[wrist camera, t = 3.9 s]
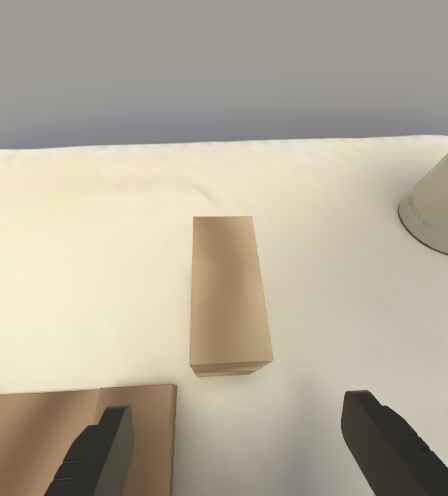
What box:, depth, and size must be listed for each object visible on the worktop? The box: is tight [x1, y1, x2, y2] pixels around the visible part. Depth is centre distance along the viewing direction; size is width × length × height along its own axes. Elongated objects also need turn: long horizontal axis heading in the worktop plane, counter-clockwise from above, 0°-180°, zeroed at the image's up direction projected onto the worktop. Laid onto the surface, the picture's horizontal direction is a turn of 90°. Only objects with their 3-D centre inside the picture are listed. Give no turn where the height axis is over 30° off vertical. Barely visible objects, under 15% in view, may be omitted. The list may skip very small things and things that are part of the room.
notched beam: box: [0, 384, 177, 496], centre depth 14 cm, size 17×6×2 cm, turn 93°
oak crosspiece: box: [190, 216, 273, 377], centre depth 17 cm, size 4×9×8 cm, turn 3°
